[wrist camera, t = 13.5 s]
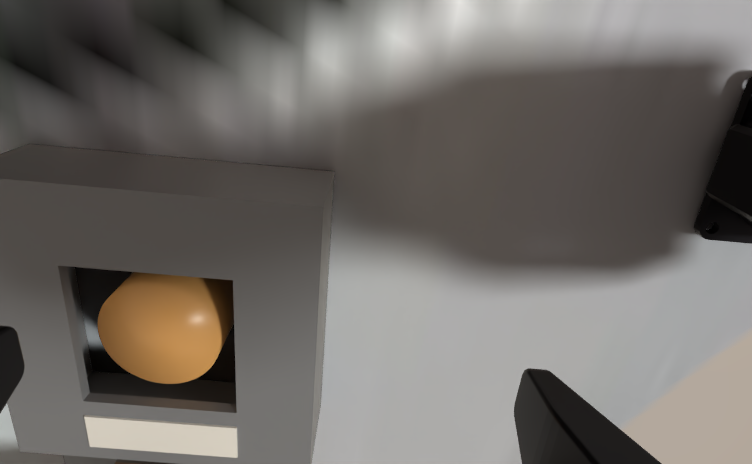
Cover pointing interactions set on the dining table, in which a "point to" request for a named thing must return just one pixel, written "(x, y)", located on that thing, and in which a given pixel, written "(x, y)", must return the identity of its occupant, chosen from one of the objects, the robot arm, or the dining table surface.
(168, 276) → the button
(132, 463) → the long wooden beam
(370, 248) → the dining table surface
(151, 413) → the box
